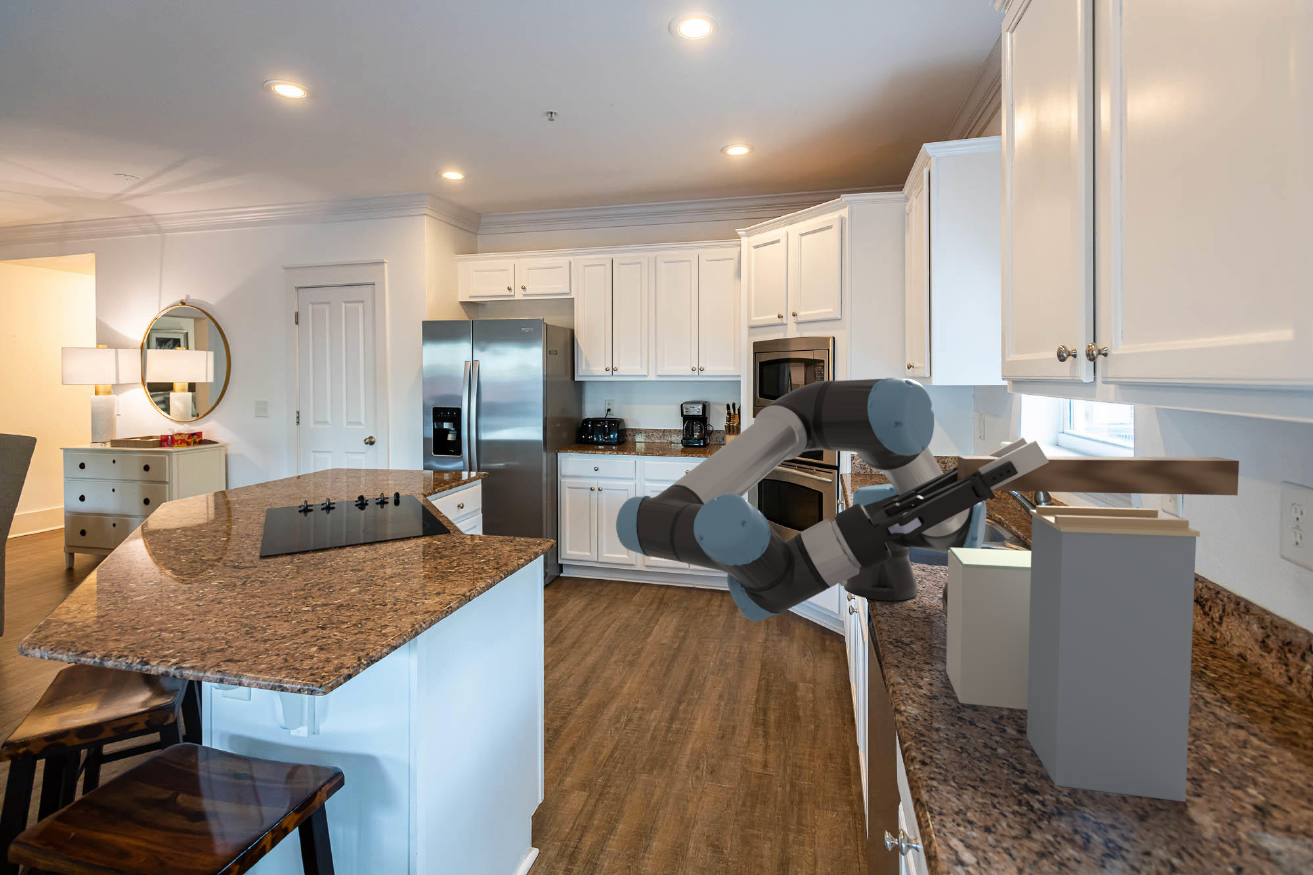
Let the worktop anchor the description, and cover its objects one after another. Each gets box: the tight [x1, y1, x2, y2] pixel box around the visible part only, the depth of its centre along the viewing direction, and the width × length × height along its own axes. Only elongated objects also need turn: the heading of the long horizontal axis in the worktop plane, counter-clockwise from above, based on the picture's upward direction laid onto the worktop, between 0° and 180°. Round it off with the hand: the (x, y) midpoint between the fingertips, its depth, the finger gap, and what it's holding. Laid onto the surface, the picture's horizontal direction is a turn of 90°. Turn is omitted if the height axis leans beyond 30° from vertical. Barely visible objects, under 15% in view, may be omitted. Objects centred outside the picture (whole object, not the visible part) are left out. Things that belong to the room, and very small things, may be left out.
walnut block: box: [957, 455, 1240, 496], centre depth 70 cm, size 26×4×4 cm, turn 75°
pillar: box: [1026, 505, 1201, 803], centre depth 71 cm, size 12×10×29 cm
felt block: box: [945, 548, 1031, 711], centre depth 89 cm, size 20×10×20 cm, turn 75°
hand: (1034, 449), depth 72 cm, fingers closed on walnut block, 4 cm apart
